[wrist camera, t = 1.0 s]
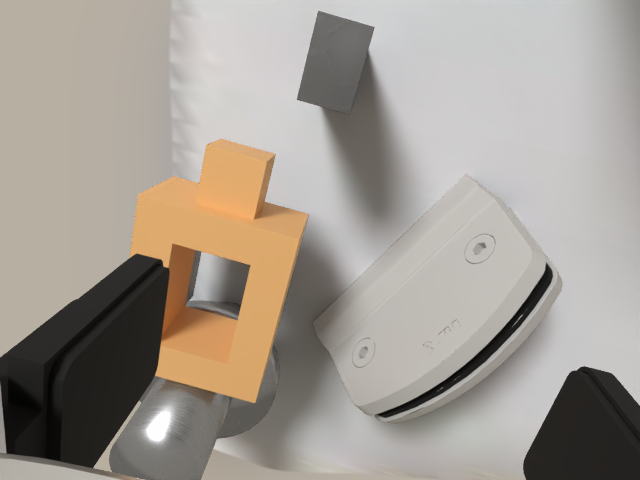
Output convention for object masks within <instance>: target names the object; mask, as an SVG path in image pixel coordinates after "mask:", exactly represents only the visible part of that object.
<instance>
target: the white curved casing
mask: <svg viewBox="0 0 640 480" xmlns="http://www.w3.org/2000/svg"><path fill="white" fill-rule="evenodd" d="M561 290H562V280H561V277H560V275H559V273H558V271H557V269H556V267H555V266H554V264H553V263H552V262H551V260H550V259H549V258H548V256H547V255H546V254H545V253H544V251H543V250H542V249H541V247H540V246H539V245H538V243H537V242H536V241H535V240H534V238H533V237H532V236H531V234H530V233H529V232H528V231H527V229H526V228H525V227H524V225H523V224H522V223H521V221H520V220H519V219H518V218H517V216H516V215H515V214H514V212H513V211H512V210H511V208H509V209H508V208H507V206H506V205H505V204H504V202H503V201H502V200H501V198H500V197H498V196H497V195H495V194H493V193H492V192H490V191H488V190H487V189H485V188H484V187H482V186H481V185H480V184H479V183H477V182H476V181H475V180H474V179H473V178H472V177H470V176H469V175H467V174H466V175H465V176H464V177H463V178H462V179H460V180H459V181H458V182H457V183H456V184H455V185H454V186H453V187H452V188H451V189H450V190H449V191H448V192H447V193H446V194H445V195H444V196H443V197H442V198H441V199H440V200H439V201H438V202H437V203H436V204H435V205H434V206H433V207H432V208H430V209H429V210H428V211H427V212H426V213H425V214H424V215H423V216H422V217H421V218H420V219H419V220H418V221H417V222H416V223H415V224H414V225H413V226H412V227H411V228H410V229H409V230H408V231H407V232H406V233H405V234H404V235H403V236H402V237H400V238H399V239H398V240H397V241H396V242H395V243H394V244H393V245H392V246H391V247H390V248H389V249H388V250H387V251H386V252H385V253H384V254H383V255H382V256H381V257H380V258H379V259H378V260H377V261H376V262H375V263H374V264H373V265H372V266H371V267H369V268H368V269H367V270H366V271H365V272H364V273H363V274H362V275H361V276H360V277H359V278H358V279H357V280H356V281H355V282H354V283H353V284H352V285H351V286H350V287H349V288H348V289H347V290H346V291H345V292H344V293H343V294H342V295H341V296H339V297H338V298H337V299H336V300H335V301H334V302H333V303H332V304H331V305H330V306H329V307H328V308H327V309H326V310H325V311H324V312H323V313H322V314H321V315H320V316H319V317H318V318H317V319H316V320H315V321H314V322H313V324H314V327H315V331H316V335H317V337H318V339H319V340H320V341H321V343H322V344H323V345H324V346H325V348H326V349H327V350H328V351H329V353H330V355H331V357H332V359H333V361H334V364H335V366H336V368H337V370H338V373H339V375H340V377H341V379H342V381H343V384H344V386H345V388H346V390H347V392H348V395H349V397H350V399H351V401H352V403H353V404H354V405H355V406H357V407H358V408H359V409H360V410H361V411H363V412H364V413H365V414H367V415H375V417H376V418H377V419H378V420H379V421H382V422H389V423H400V422H404V421H407V420H410V419H413V418H416V417H418V416H421V415H424V414H426V413H429V412H431V411H433V410H435V409H437V408H439V407H441V406H443V405H445V404H447V403H448V402H450V401H452V400H454V399H455V398H457V397H459V396H460V395H462V394H463V393H465V392H466V391H468V390H469V389H471V388H472V387H474V386H475V385H476V384H478V383H479V382H480V381H482V380H483V379H484V378H486V377H487V376H488V375H489V374H490V373H492V372H493V371H494V370H495V369H496V368H498V367H499V366H500V365H501V364H502V363H503V362H504V361H505V360H506V359H507V358H508V357H509V356H510V355H511V354H512V353H513V352H514V351H515V350H516V349H517V348H518V347H519V346H520V345H521V344H522V343H523V342H524V341H525V340H526V338H527V337H528V336H529V335H530V334H531V333H532V331H533V330H534V329H535V328H536V327H537V325H538V324H539V323H540V321H541V320H542V319H543V317H544V316H545V315H546V313H547V312H548V310H549V309H550V308H551V306H552V304H553V303H554V301H555V300H556V298H557V297H558V295H559V294H560V292H561Z"/></svg>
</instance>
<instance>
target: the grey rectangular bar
mask: <svg viewBox="0 0 640 480" xmlns="http://www.w3.org/2000/svg"><path fill="white" fill-rule="evenodd" d="M373 31H374V27H372V26H369V25H365V24H362V23H358V22H355V21H351V20H348V19H344V18H341V17H338V16H334V15H331V14H327V13H324V12H320V11H318V14H317V18H316V22H315V27H314V31H313V35H312V39H311V43H310V47H309V51H308V56H307V60H306V64H305V68H304V72H303V76H302V80H301V85H300V89H299V93H298V97H297V100H300V101H303V102H307V103H310V104H314V105H317V106H321V107H324V108H328V109H331V110H335V111H338V112H342V113H345V114H349V115H350V112H351V109H352V105H353V102H354V98H355V95H356V91H357V88H358V84H359V80H360V77H361V73H362V70H363V66H364V63H365V59H366V56H367V52H368V49H369V45H370V42H371V38H372V34H373Z"/></svg>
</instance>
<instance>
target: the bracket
mask: <svg viewBox="0 0 640 480" xmlns="http://www.w3.org/2000/svg"><path fill="white" fill-rule="evenodd" d="M275 155H276V154H273V153H269V152H266V151H262V150H259V149H255V148H252V147H248V146H245V145H241V144H238V143H234V142H231V141H227V140H224V139H219V140H217V141H214V142H212V143H209V144H207V145H206V150H205V155H204V161H203V166H202V172H201V177H200V183H196V182H192V181H189V180H185V179H182V178H178V177H174V176H173V177H171V178H170V179H168V180H166V181H164V182H162V183H160V184H158V185H156V186H154V187H152V188H150V189H148V190H146V191H144V192H142V193H140V194H138V201H137V208H136V215H135V222H134V229H133V237H132V244H131V251H130V258H131V257H132V256H133V255H135V254H136V253H137V254H141V255H145V256H149V257H153V258H157V259H161V260H162V261H163V267H167V268H169V270H170V276H169V284H168V292H167V299H166V307H165V315H164V323H163V330H162V338H161V346H160V354H159V361H158V367H157V371H156V374H155V376H157V377H161V378H165V379H168V380H172V381H176V382H179V383H183V384H187V385H190V386H194V387H198V388H201V389H205V390H209V391H212V392H216V393H220V394H223V395H227V396H231V397H234V398H238V399H241V400H245V401H249V402H252V403H255V402H256V399H257V396H258V393H259V389H260V386H261V383H262V380H263V377H264V374H265V370H266V367H267V364H268V361H269V358H270V354H271V351H272V347H273V343H274V339H275V336H276V332H277V328H278V325H279V321H280V317H281V314H282V310H283V306H284V303H285V299H286V295H287V292H288V288H289V284H290V281H291V277H292V273H293V270H294V266H295V262H296V259H297V255H298V251H299V248H300V244H301V240H302V237H303V233H304V229H305V226H306V222H307V218H308V215H309V214H306V213H302V212H299V211H295V210H292V209H288V208H285V207H281V206H277V205H274V204H270V203H267V202H265V197H266V193H267V189H268V185H269V180H270V176H271V172H272V168H273V163H274V159H275ZM195 250H198V251H201V252H205V253H209V254H212V255H216V256H219V257H223V258H227V259H230V260H234V261H237V262H241V263H244V264H248V265H251V266H250V270H249V274H248V278H247V283H246V287H245V291H244V295H243V300H242V304H241V308H240V312H239V316H238V320H234V319H231V318H227V317H223V316H220V315H216V314H212V313H209V312H205V311H202V310H198V309H194V308H191V307H187V306H185V303H186V298H187V293H188V287H189V282H190V277H191V271H192V266H193V261H194V256H195Z"/></svg>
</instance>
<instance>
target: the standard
mask: <svg viewBox="0 0 640 480" xmlns="http://www.w3.org/2000/svg"><path fill="white" fill-rule="evenodd" d="M308 217H309V215H308ZM307 220H308V218H307ZM306 224H307V222H306ZM305 228H306V226H305ZM304 231H305V229H304ZM303 235H304V233H303ZM302 239H303V237H302ZM301 242H302V240H301ZM300 246H301V244H300ZM299 250H300V248H299ZM298 253H299V251H298ZM200 257H201V251H198V250H195V256H194V261H193V266H192V271H191V277H190V282H189V287H188V293H187V298H186V303H185V306H187V307H191V308H194V309H198V310H202V311H205V312H209V313H212V314H216V315H220V316H223V317H227V318H231V319H234V320H238V316H239V312H240V308H241V306H240V305H238V304H235V303H231V302H218V303H217V302H213V301H189V300H190V299H191V297H192V296H193V293H194V288H195V283H196V278H197V272H198V267H199V262H200ZM297 257H298V255H297ZM296 261H297V259H296ZM295 264H296V262H295ZM294 268H295V266H294ZM293 272H294V270H293ZM292 275H293V273H292ZM291 279H292V277H291ZM290 283H291V281H290ZM289 286H290V284H289ZM288 290H289V288H288ZM287 294H288V292H287ZM286 297H287V295H286ZM188 301H189V302H188ZM285 301H286V299H285ZM284 305H285V303H284ZM283 308H284V306H283ZM282 312H283V310H282ZM281 316H282V314H281ZM280 319H281V317H280ZM279 323H280V321H279ZM278 326H279V325H278ZM277 329H278V328H277ZM279 371H280V367H279V359H278V355H277V352H276V349H275V347H274V345H273V347H272V351H271V354H270V358H269V361H268V364H267V367H266V370H265V374H264V377H263V380H262V383H261V386H260V389H259V393H258V396H257V399H256V402H255V403H252V402H249V401H245V400H241V399H238V398H234V397H231V396H227V395H223V394H220V393H216V392H212V391H209V390H205V389H201V388H198V387H194V386H190V385H187V384H183V383H179V382H176V381H172V380H168V379H165V378H161V377H157V376H154V378H153V380H152V382H151V383H150V385H149V386H148V388H147V389H146V391H145V392H144V394H143V395H142V397H141V398H140V401H141V405H140V406H139V408H138V409H137V411H136V412H135V414H134V415H133V417H132V418H131V420H130V421H129V423H128V424H127V426H126V427H125V429H124V430H123V431H122V433H121V434H120V436H119V438H118V439H117V440H116V442H115V443H114V445H113V446H112V449H111V451H110V457H109V462H110V467H111V470H112V472H113V473H118V474H123V475H127V476H131V477H135V478H139V479H144V480H201V478H202V475H203V473H204V470H205V467H206V465H207V462H208V460H209V457H210V455H211V452H212V450H213V447H214V445H215V442H216V439H217V438H226V437H230V436H234V435H237V434H240V433H243V432H245V431H247V430H249V429H250V428H252V427H253V426H255V425H256V424H257V423H258V422H259V421H260V420H261V419H263V417H264V416H265V415H266V413H267V412H268V410H269V409H270V407H271V405H272V402H273V399H274V396H275V392H276V389H277V385H278V380H279Z"/></svg>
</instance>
